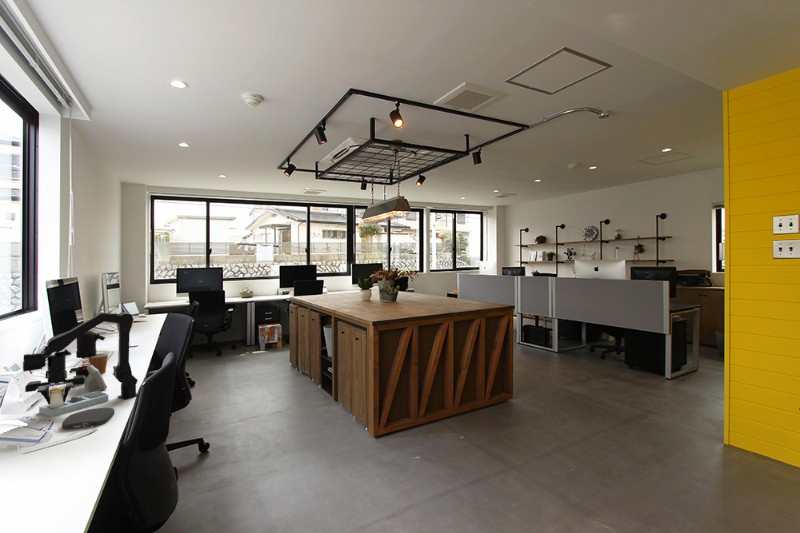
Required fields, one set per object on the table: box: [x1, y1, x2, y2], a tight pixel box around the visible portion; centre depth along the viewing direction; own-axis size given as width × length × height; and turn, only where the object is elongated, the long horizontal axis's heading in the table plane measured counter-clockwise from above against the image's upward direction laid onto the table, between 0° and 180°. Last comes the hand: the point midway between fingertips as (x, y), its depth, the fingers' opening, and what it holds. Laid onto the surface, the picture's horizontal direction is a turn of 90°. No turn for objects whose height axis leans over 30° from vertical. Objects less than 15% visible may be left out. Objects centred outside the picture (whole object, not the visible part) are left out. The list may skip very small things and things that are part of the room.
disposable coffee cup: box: [88, 350, 110, 375], centre depth 217 cm, size 10×10×12 cm
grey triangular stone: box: [83, 365, 108, 392], centre depth 193 cm, size 16×9×11 cm, turn 38°
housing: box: [38, 391, 109, 418], centre depth 169 cm, size 10×21×2 cm, turn 154°
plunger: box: [70, 394, 83, 403], centre depth 169 cm, size 4×4×3 cm
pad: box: [82, 390, 107, 399], centre depth 175 cm, size 7×6×1 cm
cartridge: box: [49, 387, 65, 409], centre depth 163 cm, size 5×5×10 cm
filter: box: [72, 325, 106, 378], centre depth 203 cm, size 14×9×30 cm
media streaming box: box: [61, 407, 115, 431], centre depth 154 cm, size 15×15×3 cm
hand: (56, 403), depth 163 cm, fingers closed on cartridge, 4 cm apart
